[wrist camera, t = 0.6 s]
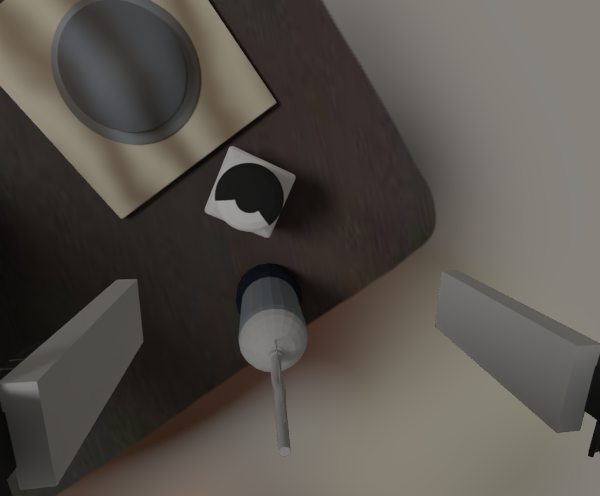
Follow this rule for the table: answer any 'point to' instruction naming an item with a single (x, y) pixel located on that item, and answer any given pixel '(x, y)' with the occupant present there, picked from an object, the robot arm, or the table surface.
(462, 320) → the robot arm
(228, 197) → the medicine bottle
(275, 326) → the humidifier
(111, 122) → the square wooden board
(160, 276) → the table surface
